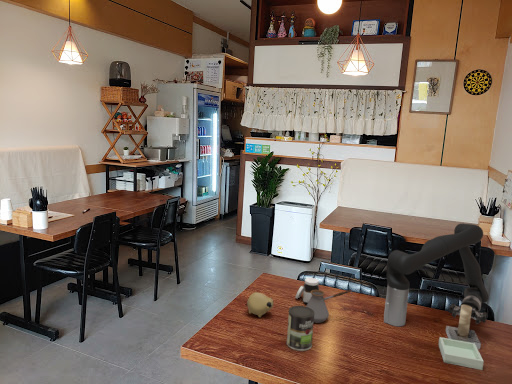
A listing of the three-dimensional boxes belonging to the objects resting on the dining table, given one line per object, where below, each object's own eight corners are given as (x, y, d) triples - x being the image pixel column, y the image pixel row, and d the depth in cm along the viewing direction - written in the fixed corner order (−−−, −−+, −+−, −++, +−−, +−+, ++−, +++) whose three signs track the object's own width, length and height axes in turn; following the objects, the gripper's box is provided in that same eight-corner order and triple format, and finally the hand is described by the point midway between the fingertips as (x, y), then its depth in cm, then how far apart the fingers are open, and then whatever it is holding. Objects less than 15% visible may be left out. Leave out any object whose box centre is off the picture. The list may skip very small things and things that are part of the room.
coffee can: (317, 347, 151) (319, 314, 149) (295, 353, 146) (297, 319, 144) (302, 335, 160) (304, 303, 158) (281, 340, 155) (283, 307, 153)
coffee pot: (304, 324, 169) (306, 292, 167) (302, 312, 181) (304, 282, 178) (352, 327, 168) (355, 295, 166) (347, 315, 180) (350, 285, 177)
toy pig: (270, 321, 170) (271, 299, 169) (244, 317, 173) (245, 295, 171) (274, 311, 180) (275, 290, 178) (249, 308, 182) (250, 287, 181)
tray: (444, 362, 145) (445, 354, 144) (438, 344, 157) (439, 337, 156) (482, 369, 141) (483, 361, 140) (473, 351, 153) (474, 343, 153)
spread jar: (319, 307, 187) (321, 284, 185) (296, 306, 187) (297, 283, 185) (315, 296, 199) (317, 275, 197) (294, 295, 199) (295, 274, 197)
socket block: (450, 343, 158) (451, 338, 158) (445, 331, 169) (446, 325, 168) (479, 349, 155) (480, 343, 155) (473, 335, 166) (474, 330, 165)
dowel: (457, 341, 161) (462, 307, 158) (455, 336, 164) (460, 303, 162) (468, 343, 159) (473, 309, 157) (466, 338, 163) (470, 305, 161)
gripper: (454, 293, 178) (447, 305, 165) (490, 303, 170) (485, 315, 157) (452, 309, 179) (445, 321, 166) (487, 318, 171) (483, 332, 158)
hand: (465, 318), depth 162 cm, fingers open, 8 cm apart
